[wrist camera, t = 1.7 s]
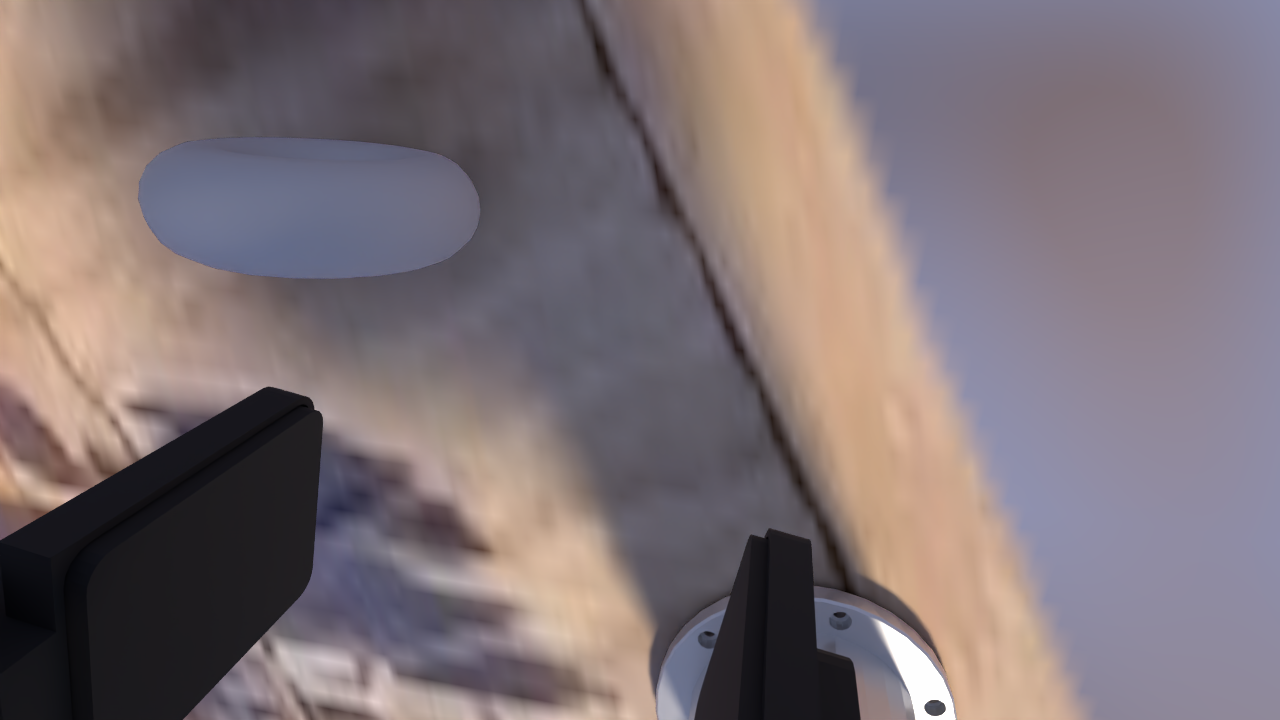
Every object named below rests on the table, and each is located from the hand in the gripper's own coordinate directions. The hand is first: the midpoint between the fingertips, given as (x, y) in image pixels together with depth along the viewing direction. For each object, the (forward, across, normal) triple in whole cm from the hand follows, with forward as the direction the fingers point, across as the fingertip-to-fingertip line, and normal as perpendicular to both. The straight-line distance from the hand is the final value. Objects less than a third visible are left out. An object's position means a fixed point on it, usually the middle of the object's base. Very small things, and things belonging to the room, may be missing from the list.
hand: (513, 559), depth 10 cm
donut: (+20, +12, 0) cm, 23 cm away
